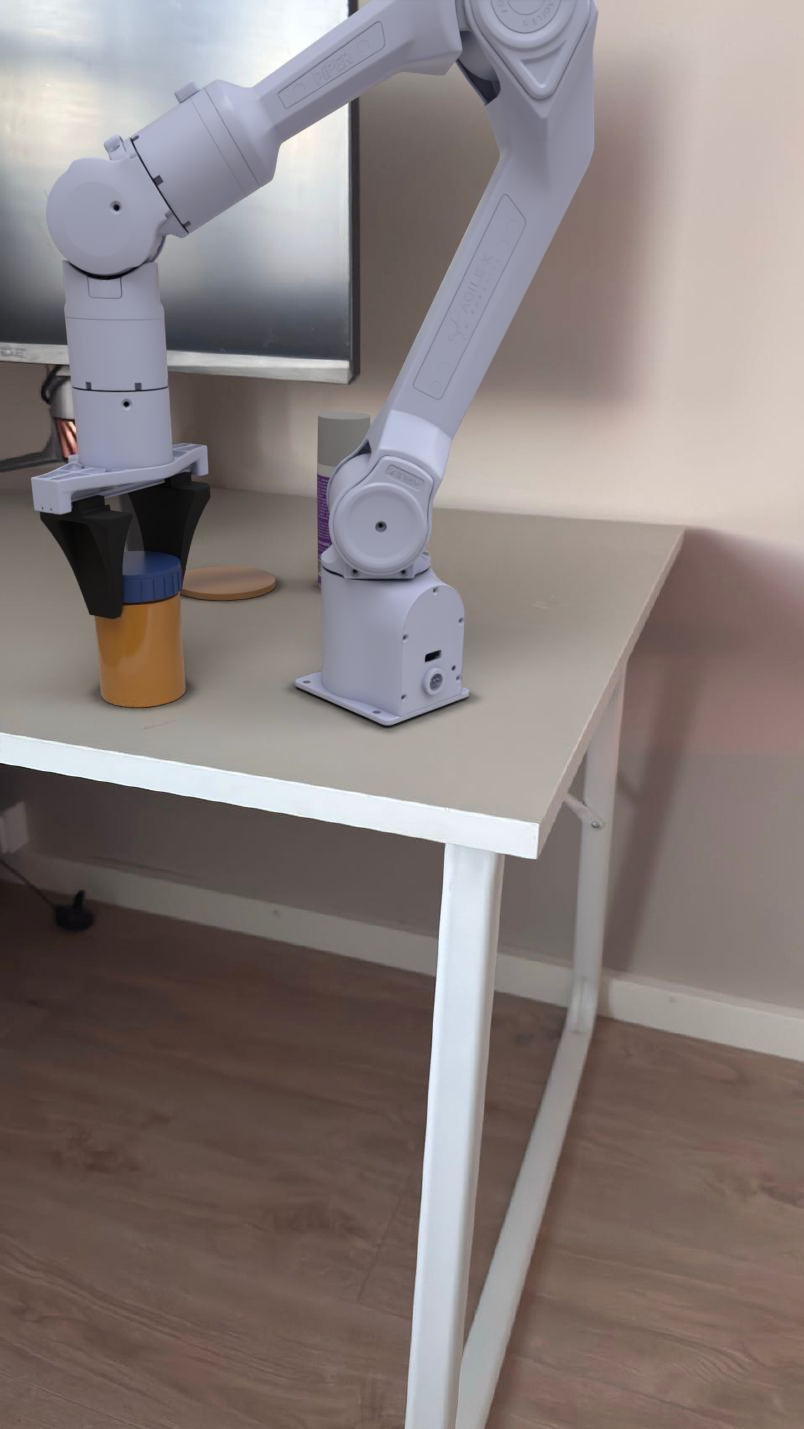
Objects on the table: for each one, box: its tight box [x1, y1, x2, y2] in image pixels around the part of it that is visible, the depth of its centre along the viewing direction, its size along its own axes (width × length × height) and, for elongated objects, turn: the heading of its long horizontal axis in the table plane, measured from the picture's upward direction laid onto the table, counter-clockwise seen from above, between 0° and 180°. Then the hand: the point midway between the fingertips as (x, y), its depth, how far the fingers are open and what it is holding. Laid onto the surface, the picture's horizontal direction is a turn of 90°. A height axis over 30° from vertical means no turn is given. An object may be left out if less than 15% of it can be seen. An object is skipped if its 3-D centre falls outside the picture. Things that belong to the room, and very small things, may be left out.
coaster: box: [180, 565, 277, 601], centre depth 96 cm, size 9×9×1 cm
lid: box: [123, 550, 183, 603], centre depth 70 cm, size 6×6×2 cm
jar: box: [93, 591, 187, 708], centre depth 71 cm, size 6×6×9 cm
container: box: [316, 411, 371, 590], centre depth 94 cm, size 5×5×15 cm
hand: (137, 602), depth 70 cm, fingers closed on lid, 6 cm apart
